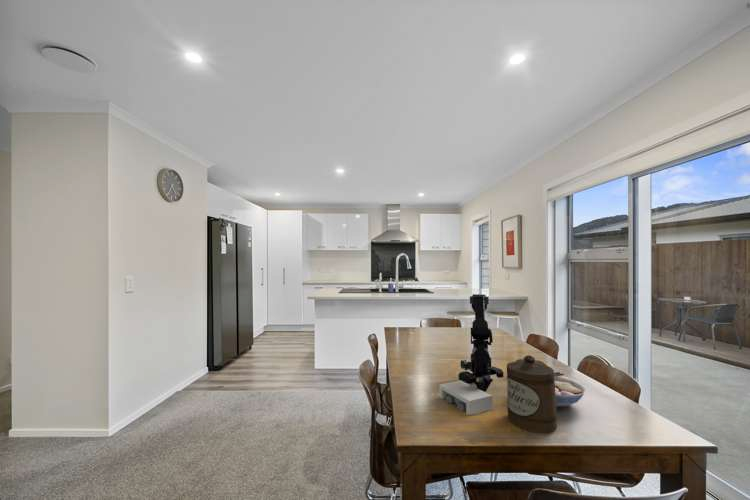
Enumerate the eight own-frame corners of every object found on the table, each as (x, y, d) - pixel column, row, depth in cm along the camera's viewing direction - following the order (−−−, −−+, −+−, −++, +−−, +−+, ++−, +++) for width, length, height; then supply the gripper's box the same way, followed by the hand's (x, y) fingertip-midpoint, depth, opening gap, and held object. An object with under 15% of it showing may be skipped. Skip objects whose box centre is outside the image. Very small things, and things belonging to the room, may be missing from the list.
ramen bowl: (548, 421, 105) (548, 396, 106) (503, 394, 127) (503, 374, 128) (604, 412, 112) (603, 389, 112) (553, 388, 134) (552, 369, 134)
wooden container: (498, 415, 109) (497, 352, 110) (530, 409, 114) (528, 348, 116) (533, 437, 95) (531, 364, 97) (567, 428, 100) (565, 359, 102)
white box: (460, 392, 129) (460, 380, 130) (492, 409, 114) (492, 395, 114) (439, 397, 125) (439, 384, 125) (469, 415, 109) (469, 400, 109)
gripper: (483, 349, 135) (484, 385, 134) (449, 354, 127) (449, 393, 127) (504, 356, 125) (504, 395, 124) (468, 362, 117) (468, 404, 116)
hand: (481, 396), depth 123 cm, fingers closed
